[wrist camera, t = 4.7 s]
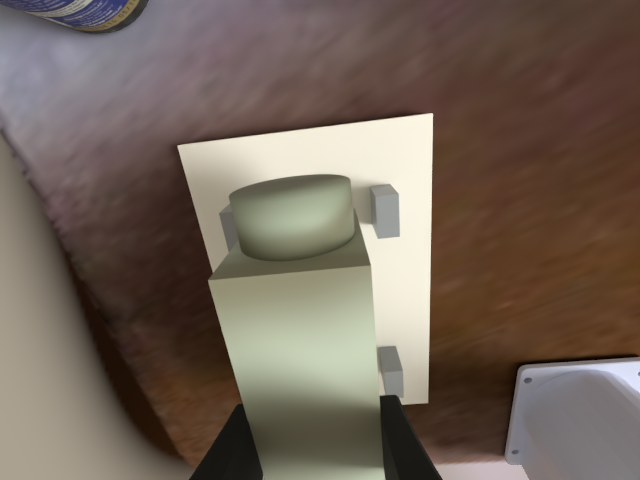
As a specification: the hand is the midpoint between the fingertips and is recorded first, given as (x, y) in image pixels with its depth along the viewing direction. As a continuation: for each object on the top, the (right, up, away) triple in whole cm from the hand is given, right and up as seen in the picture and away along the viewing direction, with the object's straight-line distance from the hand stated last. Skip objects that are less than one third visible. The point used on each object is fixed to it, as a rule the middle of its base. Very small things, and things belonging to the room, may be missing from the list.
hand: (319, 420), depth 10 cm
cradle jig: (0, +3, +8) cm, 9 cm away
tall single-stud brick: (0, +2, +4) cm, 4 cm away
